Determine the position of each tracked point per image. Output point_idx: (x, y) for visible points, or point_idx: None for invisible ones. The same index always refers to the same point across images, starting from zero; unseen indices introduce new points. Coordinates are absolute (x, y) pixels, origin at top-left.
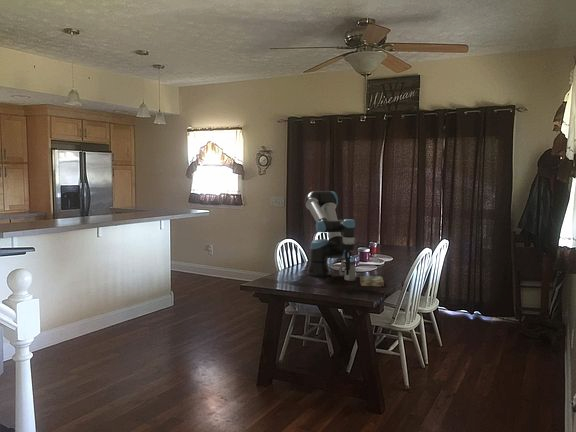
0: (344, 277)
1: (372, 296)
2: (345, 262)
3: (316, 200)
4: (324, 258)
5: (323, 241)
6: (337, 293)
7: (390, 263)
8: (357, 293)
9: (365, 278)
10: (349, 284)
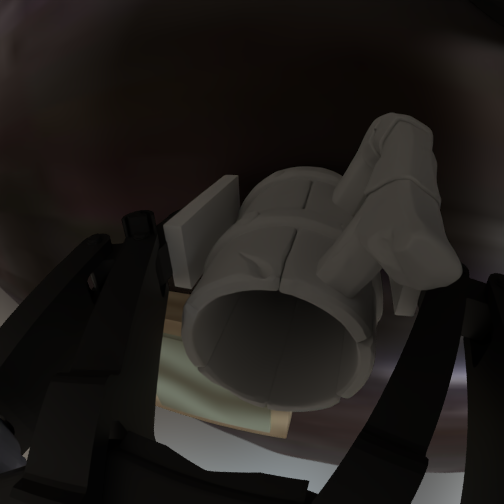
0: (273, 173)
1: (15, 287)
2: (496, 305)
3: None
4: None
5: None
6: None
7: None
8: (10, 237)
9: (172, 352)
10: (129, 206)
